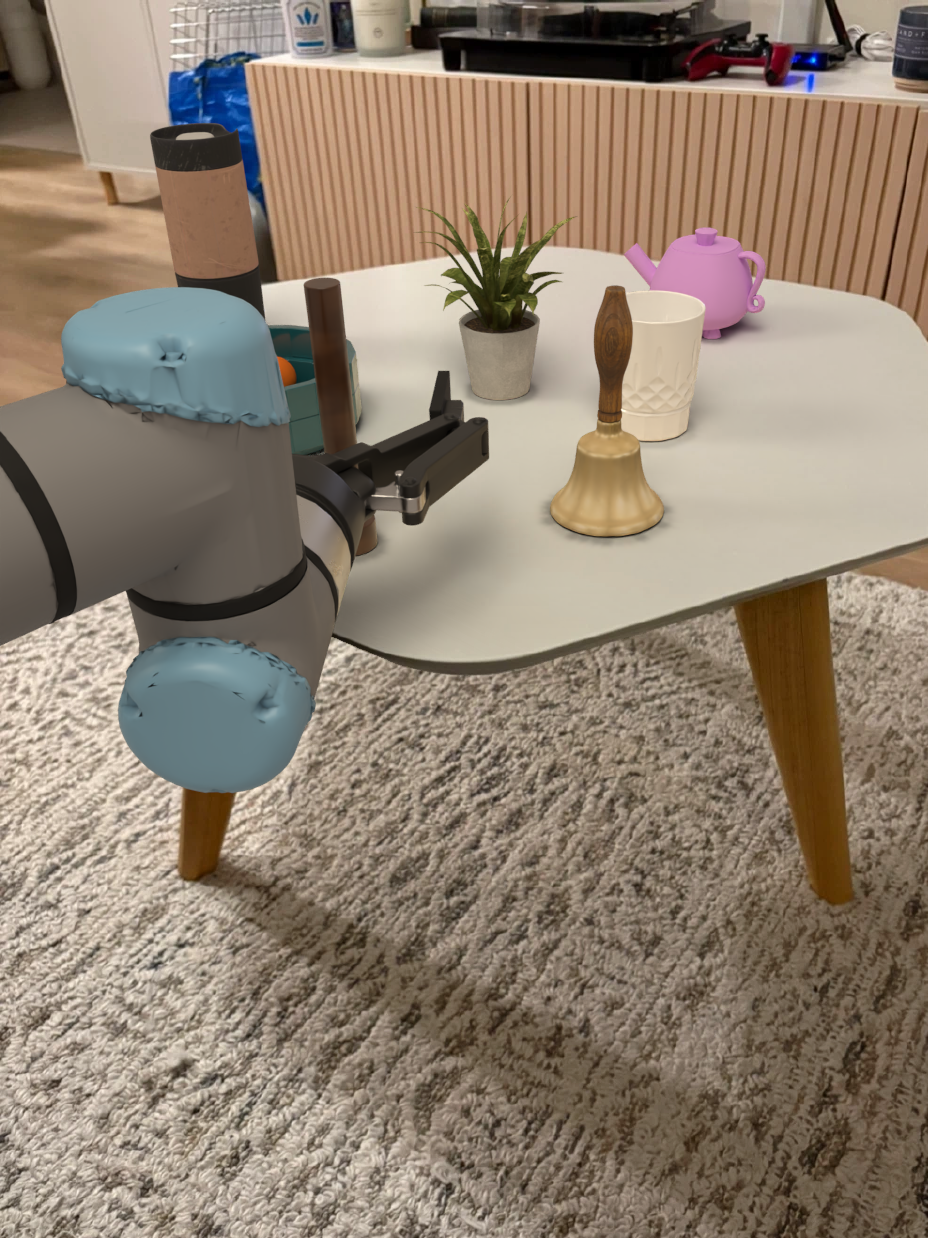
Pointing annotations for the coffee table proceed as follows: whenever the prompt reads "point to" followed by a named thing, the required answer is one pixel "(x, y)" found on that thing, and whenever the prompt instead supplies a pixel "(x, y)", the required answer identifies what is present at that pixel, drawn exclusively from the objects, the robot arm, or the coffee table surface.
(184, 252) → the travel mug
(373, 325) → the coffee table surface
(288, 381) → the orange ball
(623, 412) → the white cup
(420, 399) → the coffee table surface
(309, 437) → the bowl
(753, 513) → the coffee table surface
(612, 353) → the hand bell
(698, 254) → the teapot
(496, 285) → the house plant
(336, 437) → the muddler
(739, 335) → the coffee table surface
